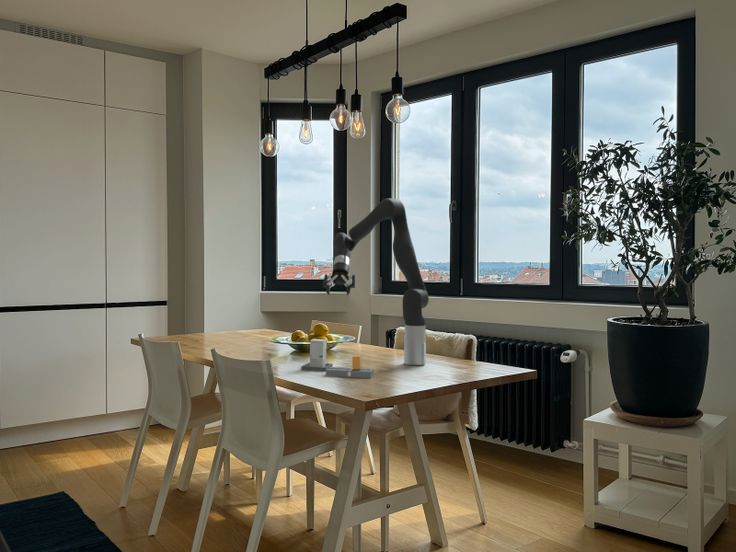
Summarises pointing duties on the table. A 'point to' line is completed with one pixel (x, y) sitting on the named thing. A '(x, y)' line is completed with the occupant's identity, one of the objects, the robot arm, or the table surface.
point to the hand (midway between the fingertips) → (337, 293)
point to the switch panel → (349, 372)
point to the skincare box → (317, 353)
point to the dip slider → (357, 362)
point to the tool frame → (306, 367)
